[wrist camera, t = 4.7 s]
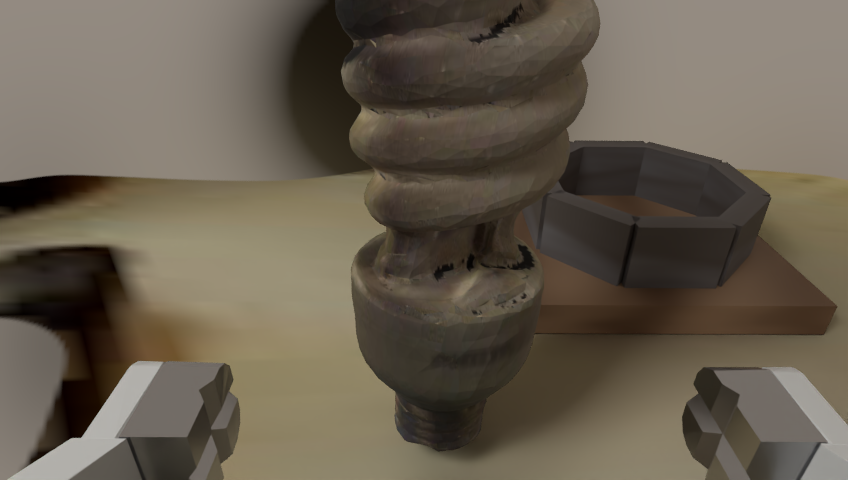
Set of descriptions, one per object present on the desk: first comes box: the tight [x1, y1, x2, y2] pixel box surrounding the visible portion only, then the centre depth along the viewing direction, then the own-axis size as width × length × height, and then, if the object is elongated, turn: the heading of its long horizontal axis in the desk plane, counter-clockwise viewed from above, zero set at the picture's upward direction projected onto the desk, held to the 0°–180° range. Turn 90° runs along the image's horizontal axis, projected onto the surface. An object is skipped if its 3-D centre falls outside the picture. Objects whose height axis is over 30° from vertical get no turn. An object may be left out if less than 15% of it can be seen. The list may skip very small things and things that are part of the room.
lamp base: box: [514, 141, 837, 334], centre depth 28 cm, size 13×13×4 cm
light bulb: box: [335, 0, 600, 451], centre depth 14 cm, size 6×6×15 cm
